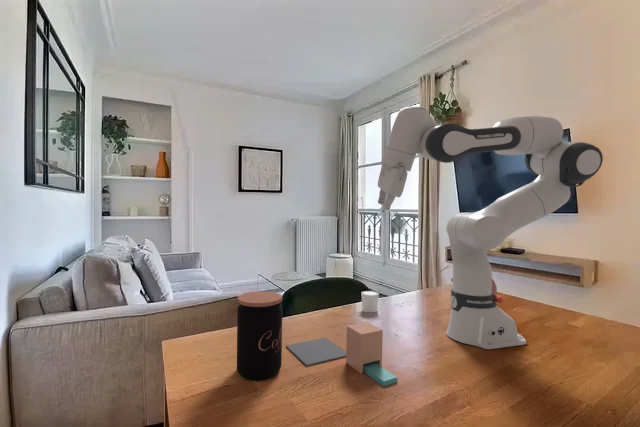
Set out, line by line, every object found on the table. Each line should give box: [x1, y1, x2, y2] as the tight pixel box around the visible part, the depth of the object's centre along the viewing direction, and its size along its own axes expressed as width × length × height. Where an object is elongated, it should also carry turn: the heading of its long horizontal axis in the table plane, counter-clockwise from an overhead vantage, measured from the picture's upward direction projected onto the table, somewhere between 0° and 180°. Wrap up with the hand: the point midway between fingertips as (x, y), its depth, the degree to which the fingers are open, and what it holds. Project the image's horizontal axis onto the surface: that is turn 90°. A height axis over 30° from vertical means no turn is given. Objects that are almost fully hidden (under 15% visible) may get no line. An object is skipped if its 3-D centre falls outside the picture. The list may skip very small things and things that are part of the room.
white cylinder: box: [360, 290, 380, 313], centre depth 128 cm, size 7×7×7 cm
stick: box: [363, 362, 398, 387], centre depth 80 cm, size 4×12×2 cm, turn 30°
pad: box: [285, 337, 346, 367], centre depth 91 cm, size 13×13×1 cm
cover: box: [345, 321, 384, 375], centre depth 83 cm, size 6×6×10 cm
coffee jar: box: [236, 291, 283, 382], centre depth 79 cm, size 11×11×18 cm
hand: (382, 206), depth 100 cm, fingers open, 8 cm apart
